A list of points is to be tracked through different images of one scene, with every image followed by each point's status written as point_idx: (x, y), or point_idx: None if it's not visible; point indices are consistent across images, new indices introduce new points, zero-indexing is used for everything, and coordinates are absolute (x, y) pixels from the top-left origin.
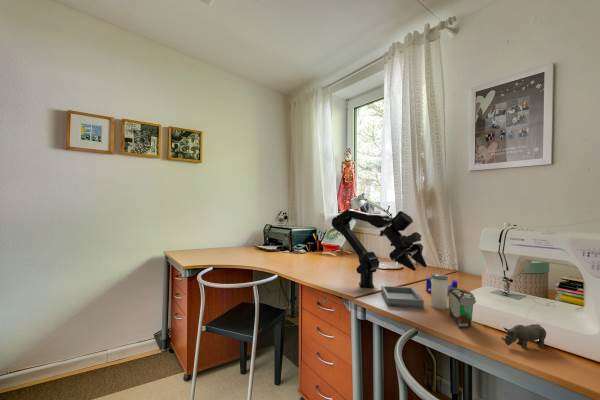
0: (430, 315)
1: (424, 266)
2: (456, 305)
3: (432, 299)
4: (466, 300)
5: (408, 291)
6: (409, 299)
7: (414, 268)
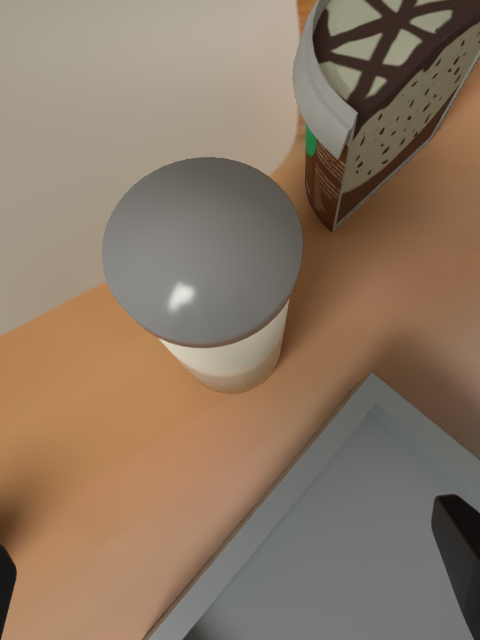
0: (419, 294)
1: (7, 582)
2: (445, 77)
3: (276, 355)
4: None
5: None
6: (465, 450)
7: (474, 515)
